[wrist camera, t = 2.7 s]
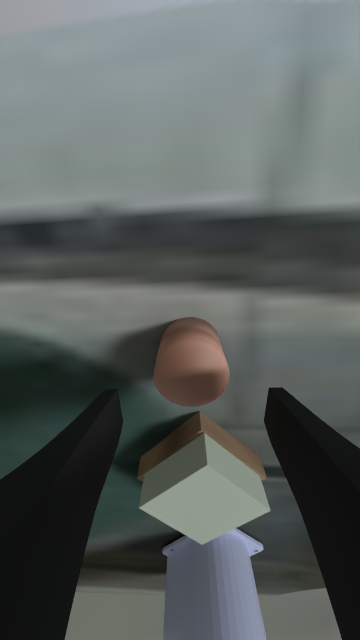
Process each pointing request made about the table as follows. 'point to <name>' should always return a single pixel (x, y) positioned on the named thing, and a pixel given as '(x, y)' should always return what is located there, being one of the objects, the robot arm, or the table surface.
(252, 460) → the walnut base slab
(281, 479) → the table surface
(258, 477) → the sage top slab
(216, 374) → the salmon pink cylinder
